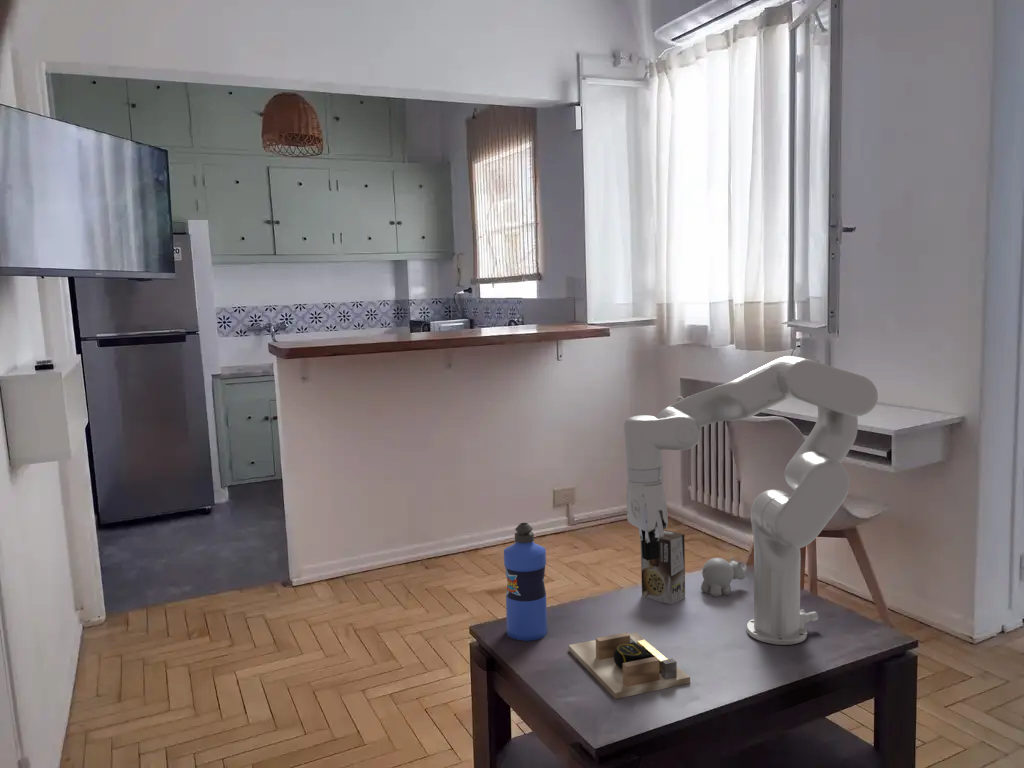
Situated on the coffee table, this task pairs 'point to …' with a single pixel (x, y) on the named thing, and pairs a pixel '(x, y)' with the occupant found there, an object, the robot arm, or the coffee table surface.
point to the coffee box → (665, 570)
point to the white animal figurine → (721, 575)
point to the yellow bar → (652, 651)
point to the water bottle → (525, 586)
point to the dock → (616, 673)
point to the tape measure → (630, 653)
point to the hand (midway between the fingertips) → (650, 558)
